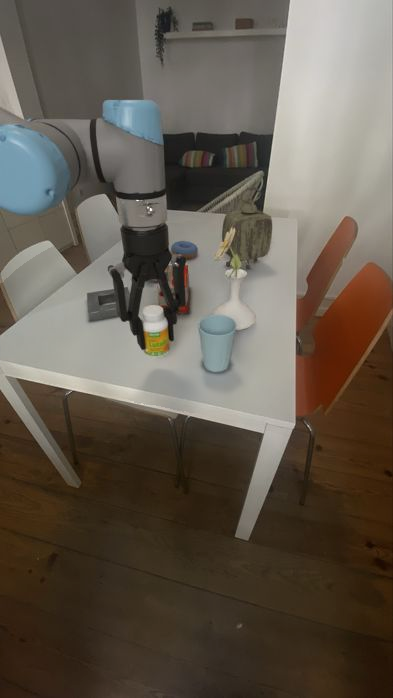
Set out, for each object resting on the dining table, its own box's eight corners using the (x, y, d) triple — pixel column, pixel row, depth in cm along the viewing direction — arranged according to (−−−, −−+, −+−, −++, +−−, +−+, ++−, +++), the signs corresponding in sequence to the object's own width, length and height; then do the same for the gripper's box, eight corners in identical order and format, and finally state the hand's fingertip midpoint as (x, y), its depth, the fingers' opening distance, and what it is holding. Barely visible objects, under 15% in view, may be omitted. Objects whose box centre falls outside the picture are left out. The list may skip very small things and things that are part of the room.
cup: (228, 350, 73) (230, 312, 67) (238, 372, 67) (241, 332, 61) (196, 355, 72) (195, 316, 66) (203, 378, 66) (202, 337, 60)
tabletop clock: (257, 258, 115) (265, 182, 100) (270, 268, 109) (281, 188, 93) (220, 265, 112) (223, 187, 96) (232, 275, 105) (236, 193, 90)
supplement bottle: (149, 361, 63) (144, 320, 57) (140, 347, 67) (134, 306, 61) (174, 353, 65) (171, 313, 59) (163, 340, 69) (160, 300, 63)
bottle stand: (90, 321, 84) (88, 313, 83) (88, 300, 93) (86, 292, 92) (134, 313, 87) (133, 305, 86) (128, 294, 96) (127, 286, 94)
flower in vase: (221, 307, 89) (225, 213, 73) (261, 316, 85) (273, 219, 69) (200, 331, 80) (199, 230, 64) (243, 343, 76) (252, 238, 60)
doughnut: (202, 253, 120) (202, 241, 118) (188, 262, 114) (187, 250, 111) (181, 249, 125) (180, 237, 122) (166, 257, 118) (165, 245, 115)
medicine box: (163, 288, 98) (161, 264, 94) (189, 288, 98) (188, 263, 93) (159, 314, 87) (156, 287, 82) (188, 313, 86) (187, 287, 82)
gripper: (90, 240, 44) (116, 366, 58) (206, 221, 51) (204, 339, 65) (79, 225, 49) (106, 344, 64) (186, 210, 56) (188, 321, 70)
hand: (155, 341), depth 64 cm, fingers closed on supplement bottle, 5 cm apart
